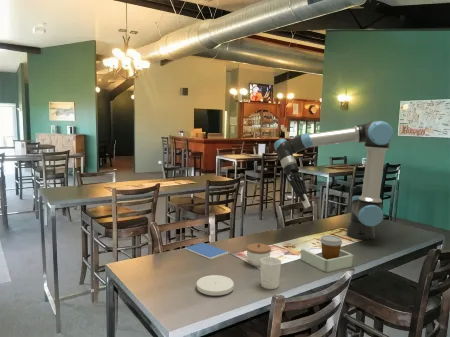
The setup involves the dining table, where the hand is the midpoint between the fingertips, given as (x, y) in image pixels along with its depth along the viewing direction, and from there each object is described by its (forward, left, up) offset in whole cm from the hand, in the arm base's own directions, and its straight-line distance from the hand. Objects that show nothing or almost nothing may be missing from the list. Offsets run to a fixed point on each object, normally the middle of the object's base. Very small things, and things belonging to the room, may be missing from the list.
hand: (307, 206), depth 177 cm
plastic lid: (+60, +18, -22) cm, 67 cm away
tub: (+3, +18, -22) cm, 28 cm away
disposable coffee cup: (+3, +20, -22) cm, 30 cm away
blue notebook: (+46, -20, -23) cm, 55 cm away
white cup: (+40, +25, -22) cm, 52 cm away
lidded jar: (+32, +5, -22) cm, 39 cm away
